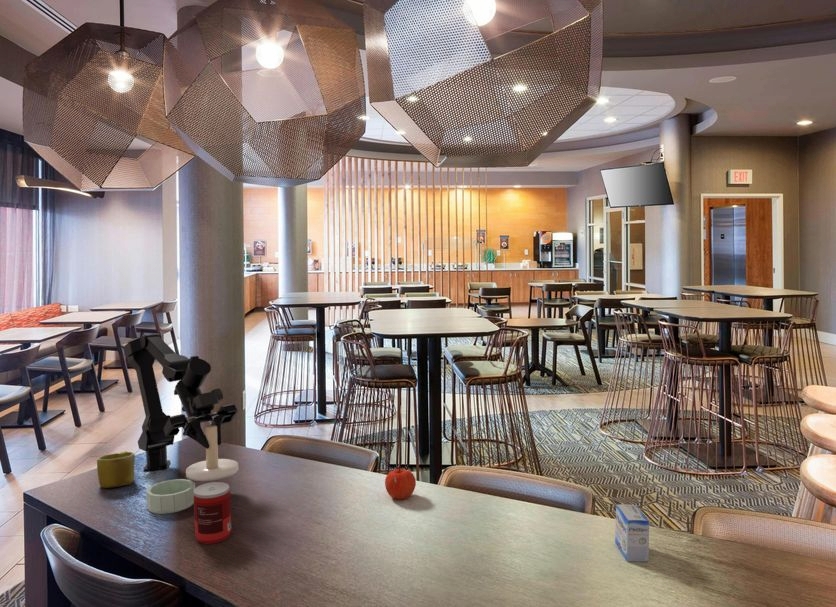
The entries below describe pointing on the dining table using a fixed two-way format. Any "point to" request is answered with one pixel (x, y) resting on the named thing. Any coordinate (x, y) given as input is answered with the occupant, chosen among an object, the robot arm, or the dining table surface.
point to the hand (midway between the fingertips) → (214, 446)
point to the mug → (116, 469)
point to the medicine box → (632, 533)
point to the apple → (400, 483)
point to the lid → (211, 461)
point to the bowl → (170, 496)
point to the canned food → (212, 512)
